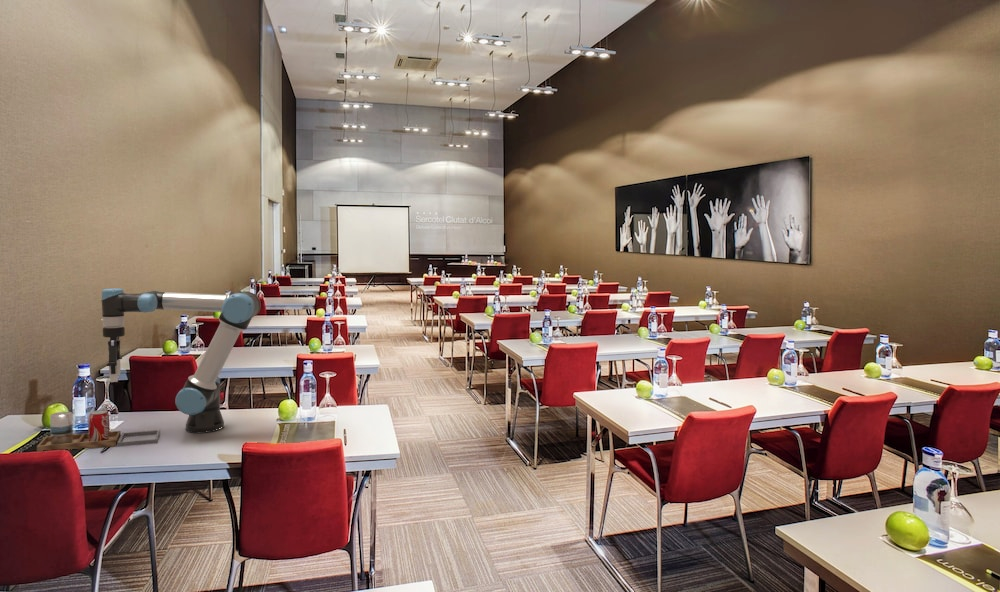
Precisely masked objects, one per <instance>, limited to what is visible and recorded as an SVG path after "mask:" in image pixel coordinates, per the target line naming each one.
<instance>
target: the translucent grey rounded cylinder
mask: <svg viewBox="0 0 1000 592" xmlns="http://www.w3.org/2000/svg"><path fill="white" fill-rule="evenodd" d="M49 415H50V417H49V419H50V422H49V423H50V425H49V427H50V428H49V431H50V432H49V433H50V436H51V445H53V444H66V443H73V434H74V433H73V432H74V424H73V421H74V419H73V412H71V411H59V412H58V411H57V412H54V413H51V414H49Z"/></svg>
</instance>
